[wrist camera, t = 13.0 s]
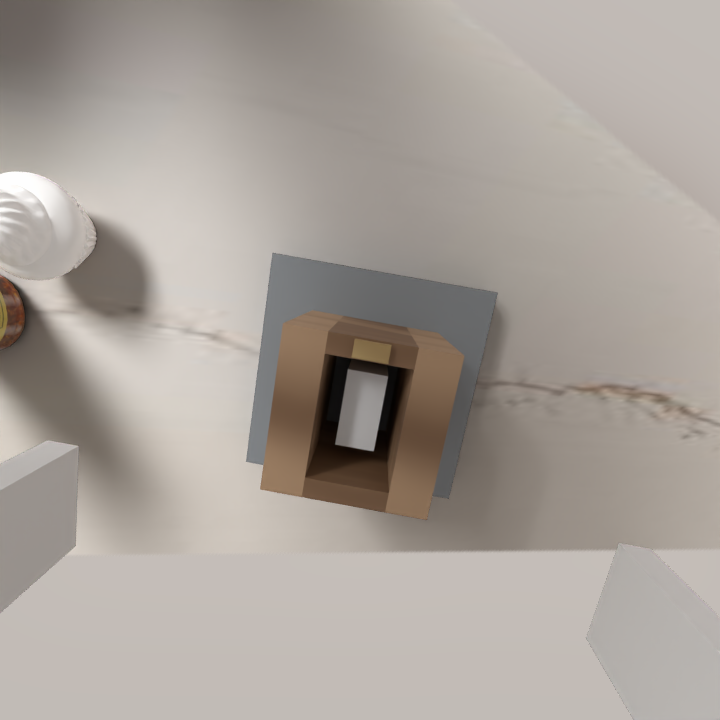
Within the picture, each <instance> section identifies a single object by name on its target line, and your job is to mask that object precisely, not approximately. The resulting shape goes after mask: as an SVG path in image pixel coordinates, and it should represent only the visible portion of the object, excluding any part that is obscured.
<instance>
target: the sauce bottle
mask: <svg viewBox="0 0 720 720" xmlns="http://www.w3.org/2000/svg"><path fill="white" fill-rule="evenodd" d="M24 324H25V312H24V307H23V303H22V300H21V297H20V296H19V293H18V291H17V290H16V289H15V288H14V285H13V284H12V283H11V282H10V281H8V280H7V279H6V278H5V277H3V276H1V275H0V350H1V349H4V348H7V347H9V346H11V345H12V344H13V343H14V342H15V341H16V340H17V339H18V338H19V336H20V335H21V333H22V331H23V329H24Z"/></svg>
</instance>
